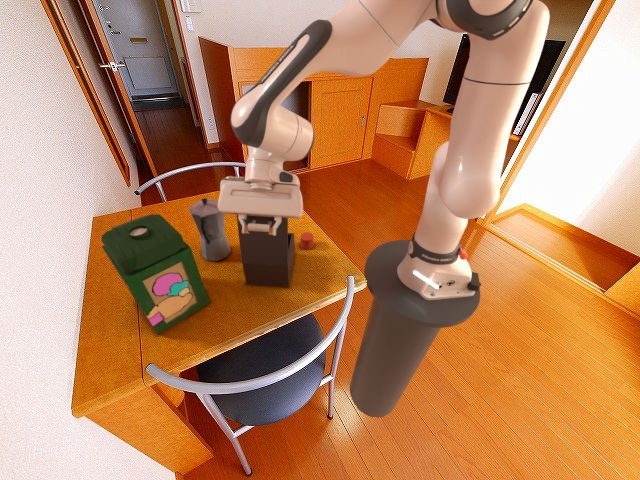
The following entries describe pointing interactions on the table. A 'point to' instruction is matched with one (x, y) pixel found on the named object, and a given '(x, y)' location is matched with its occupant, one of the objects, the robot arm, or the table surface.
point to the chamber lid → (264, 241)
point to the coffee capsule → (307, 240)
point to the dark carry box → (271, 270)
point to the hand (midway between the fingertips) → (259, 234)
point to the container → (156, 269)
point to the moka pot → (210, 229)
